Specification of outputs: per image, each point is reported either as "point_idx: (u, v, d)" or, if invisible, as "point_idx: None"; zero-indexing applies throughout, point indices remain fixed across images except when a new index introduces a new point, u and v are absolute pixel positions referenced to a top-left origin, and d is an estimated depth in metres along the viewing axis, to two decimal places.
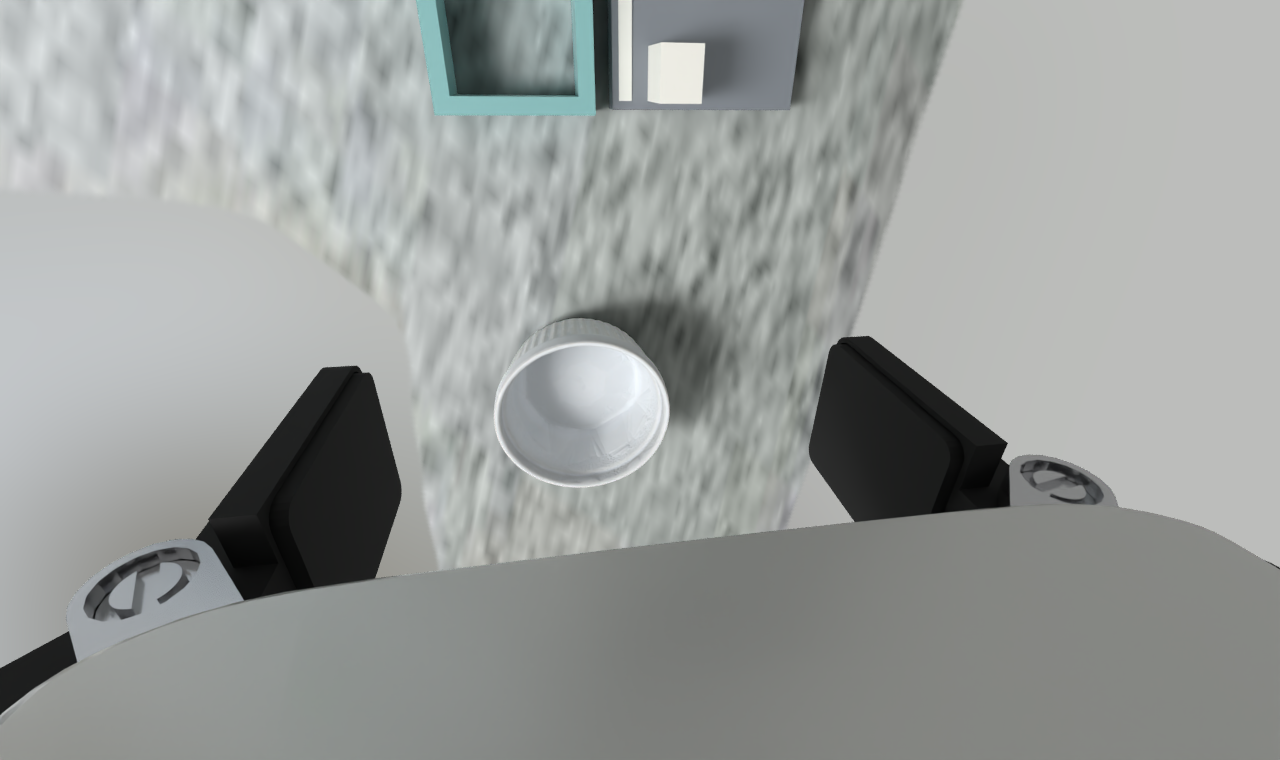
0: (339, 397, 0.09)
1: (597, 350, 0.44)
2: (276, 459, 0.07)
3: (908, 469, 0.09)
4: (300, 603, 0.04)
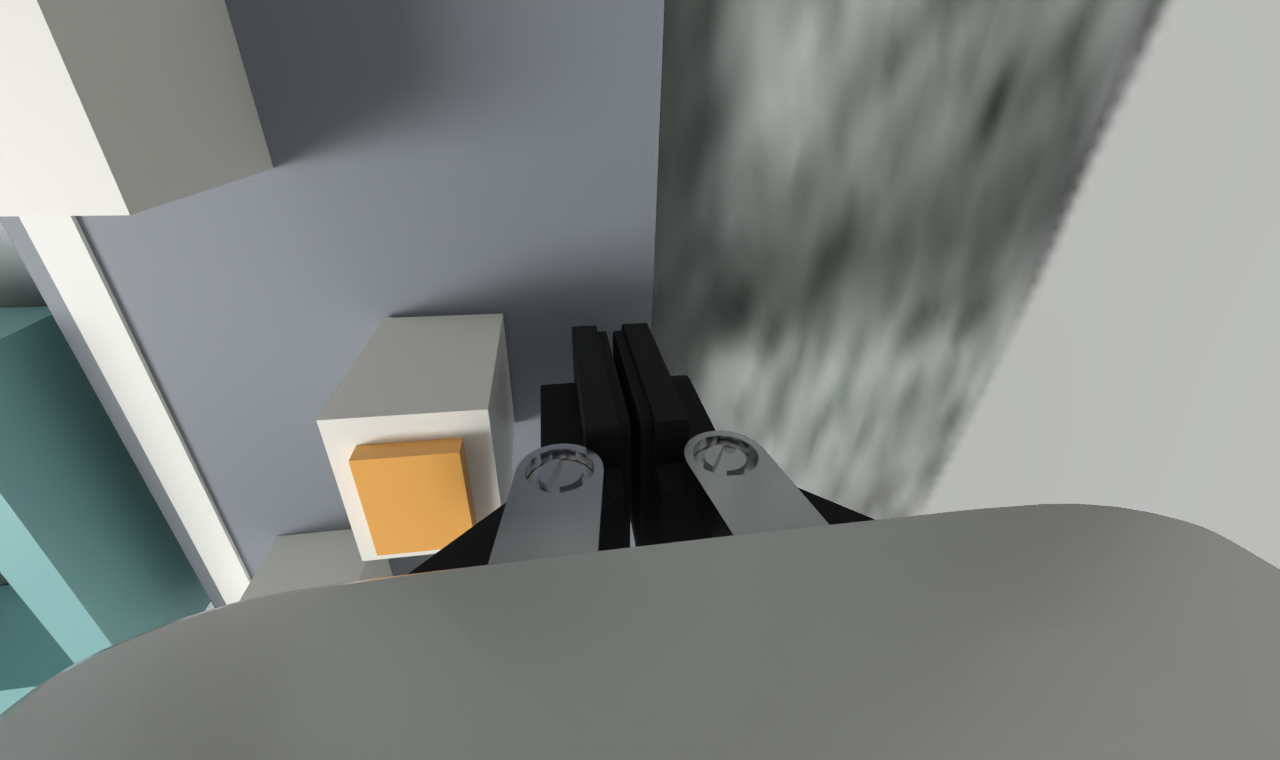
0: None
1: None
2: (598, 389, 0.09)
3: (634, 447, 0.09)
4: (300, 603, 0.04)
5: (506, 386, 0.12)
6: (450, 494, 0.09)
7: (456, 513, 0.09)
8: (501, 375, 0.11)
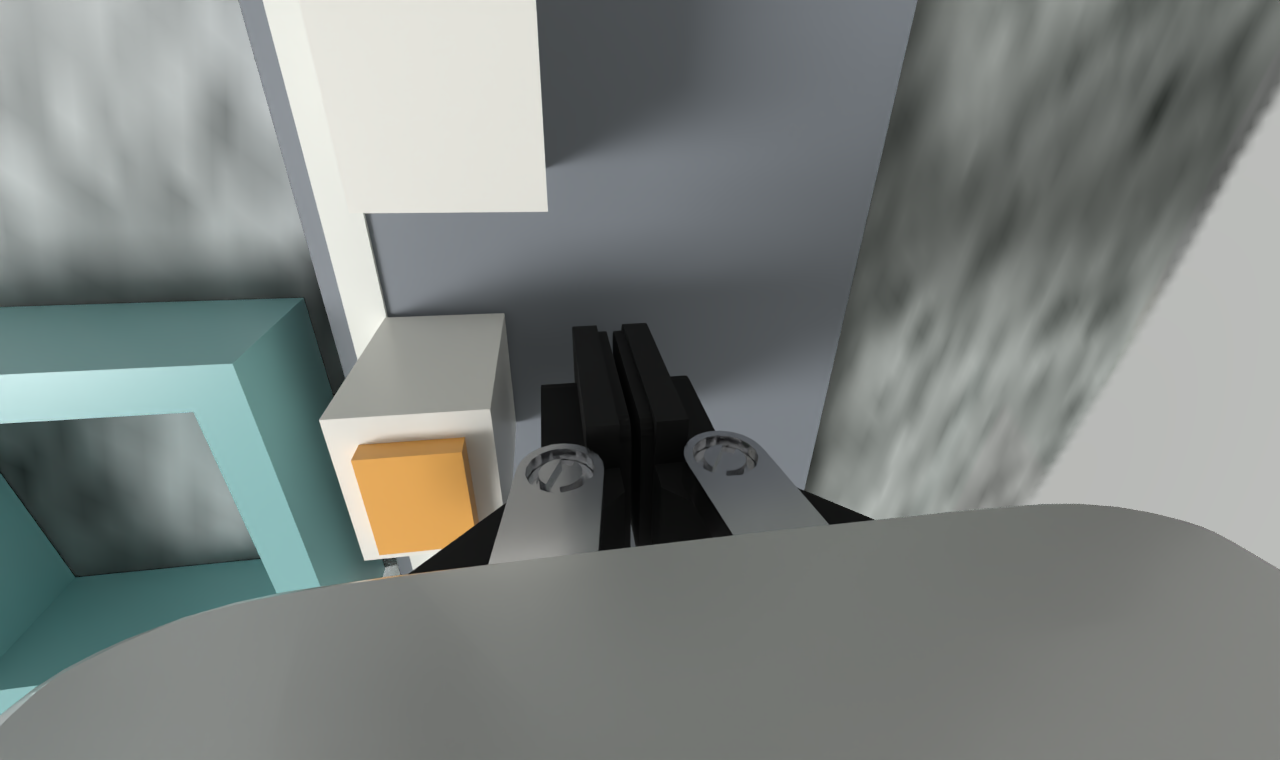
0: (601, 348, 0.10)
1: None
2: (599, 389, 0.09)
3: (633, 447, 0.09)
4: (299, 604, 0.04)
5: (507, 386, 0.12)
6: (452, 494, 0.09)
7: (458, 513, 0.09)
8: (503, 375, 0.11)
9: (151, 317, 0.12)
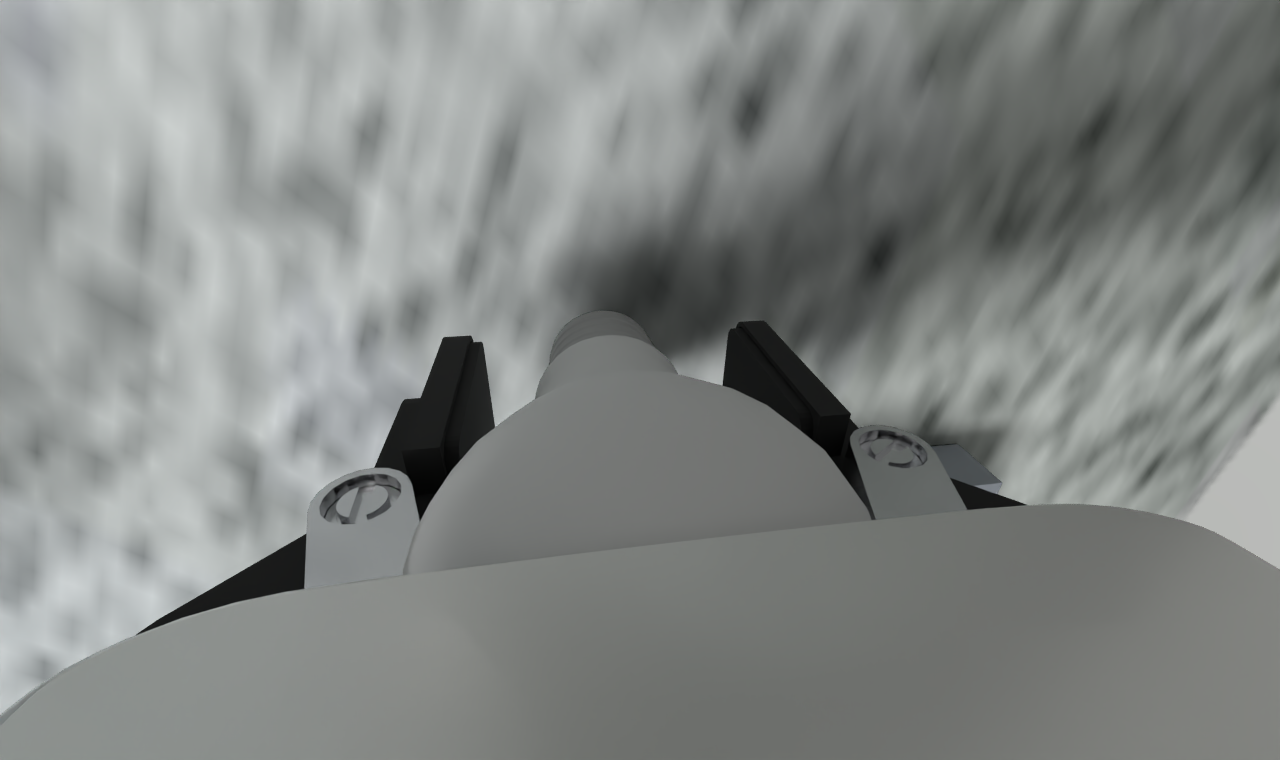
0: (466, 361, 0.10)
1: None
2: (436, 407, 0.08)
3: None
4: (300, 603, 0.04)
5: None
6: None
7: None
8: None
9: None
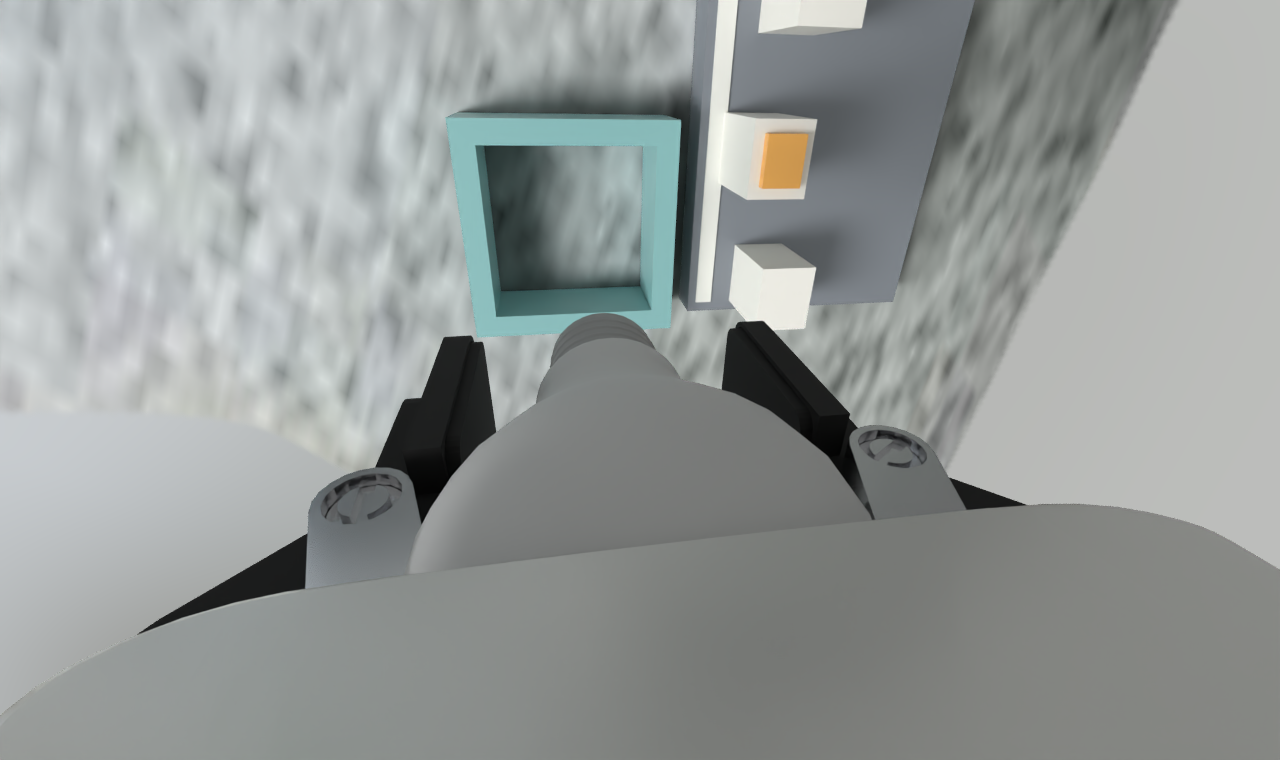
0: (466, 361, 0.10)
1: None
2: (437, 406, 0.08)
3: None
4: (300, 603, 0.04)
5: None
6: (799, 156, 0.21)
7: (798, 168, 0.21)
8: None
9: (609, 115, 0.24)
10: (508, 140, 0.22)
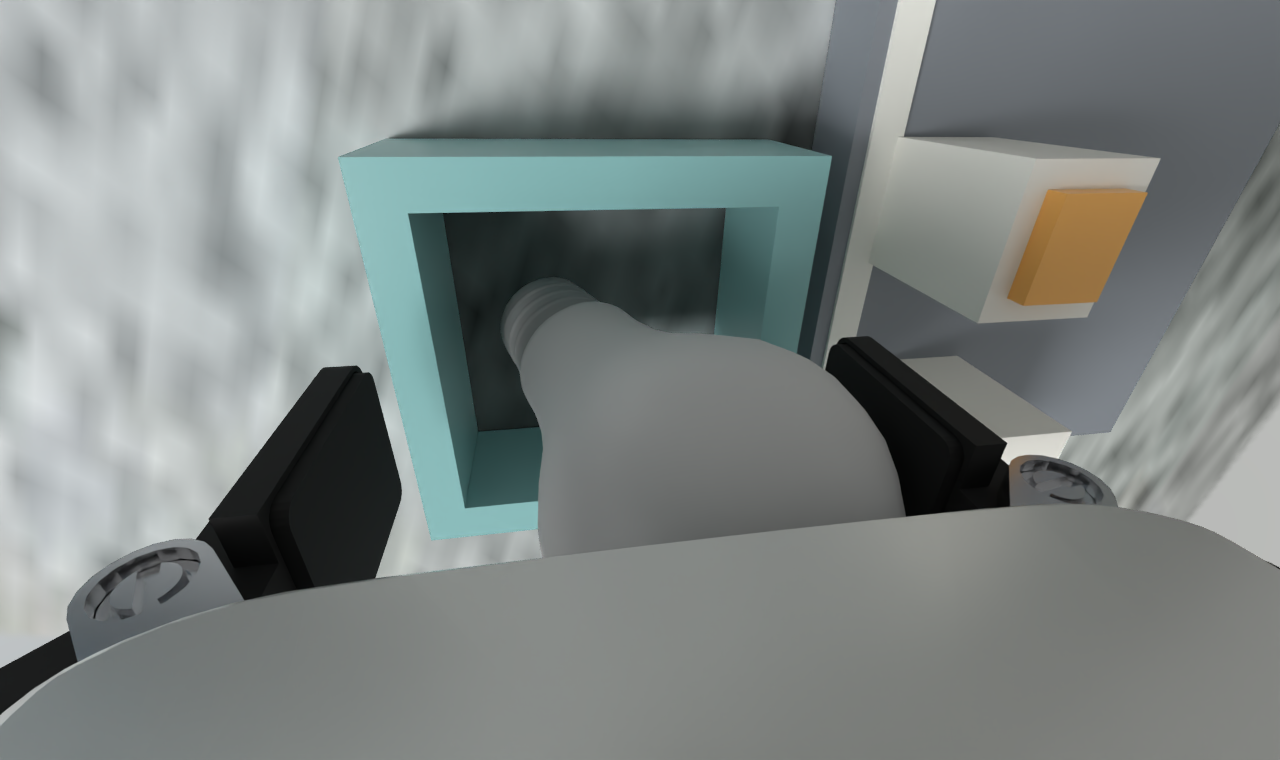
0: (339, 397, 0.09)
1: None
2: (277, 458, 0.07)
3: (908, 469, 0.09)
4: (300, 603, 0.04)
5: None
6: (1114, 240, 0.09)
7: (1105, 262, 0.10)
8: None
9: (674, 143, 0.13)
10: (478, 202, 0.10)
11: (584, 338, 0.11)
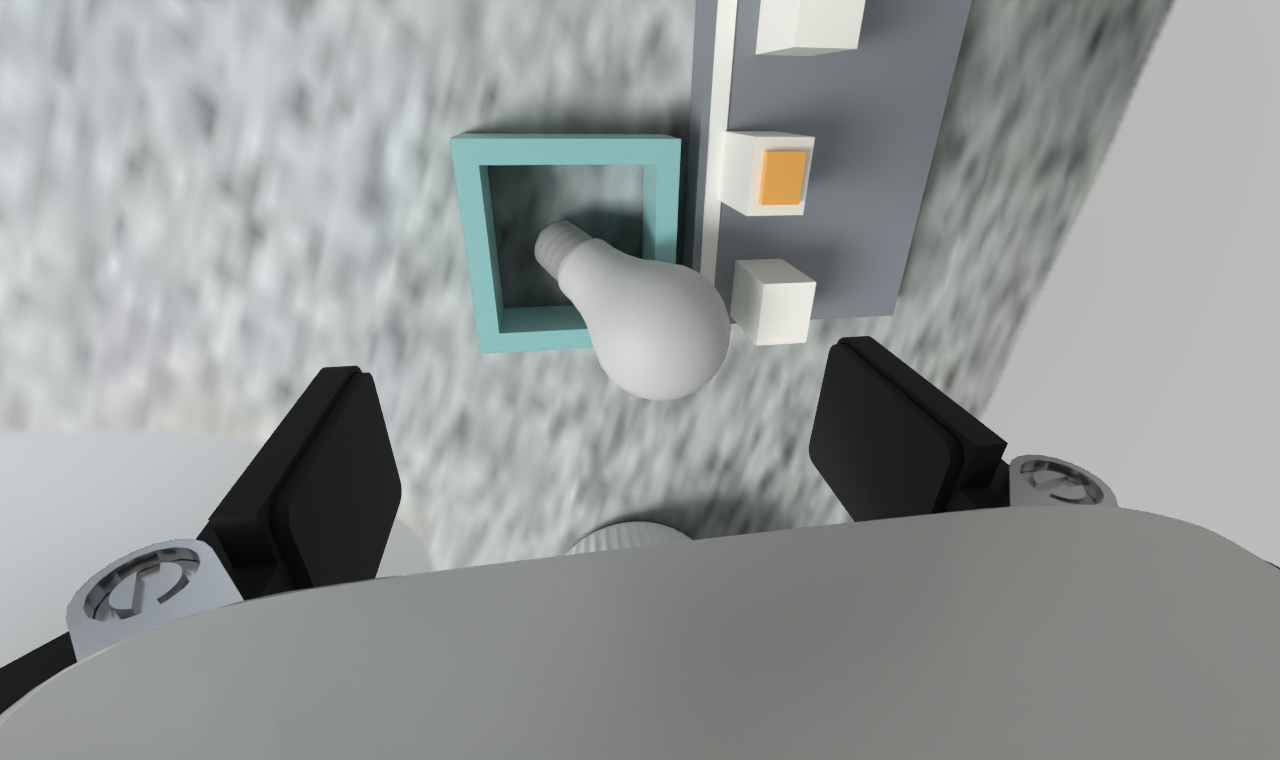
0: (339, 397, 0.09)
1: None
2: (277, 459, 0.07)
3: (908, 469, 0.09)
4: (300, 603, 0.04)
5: None
6: (797, 173, 0.21)
7: (796, 184, 0.21)
8: None
9: (610, 135, 0.24)
10: (511, 160, 0.22)
11: (598, 263, 0.23)
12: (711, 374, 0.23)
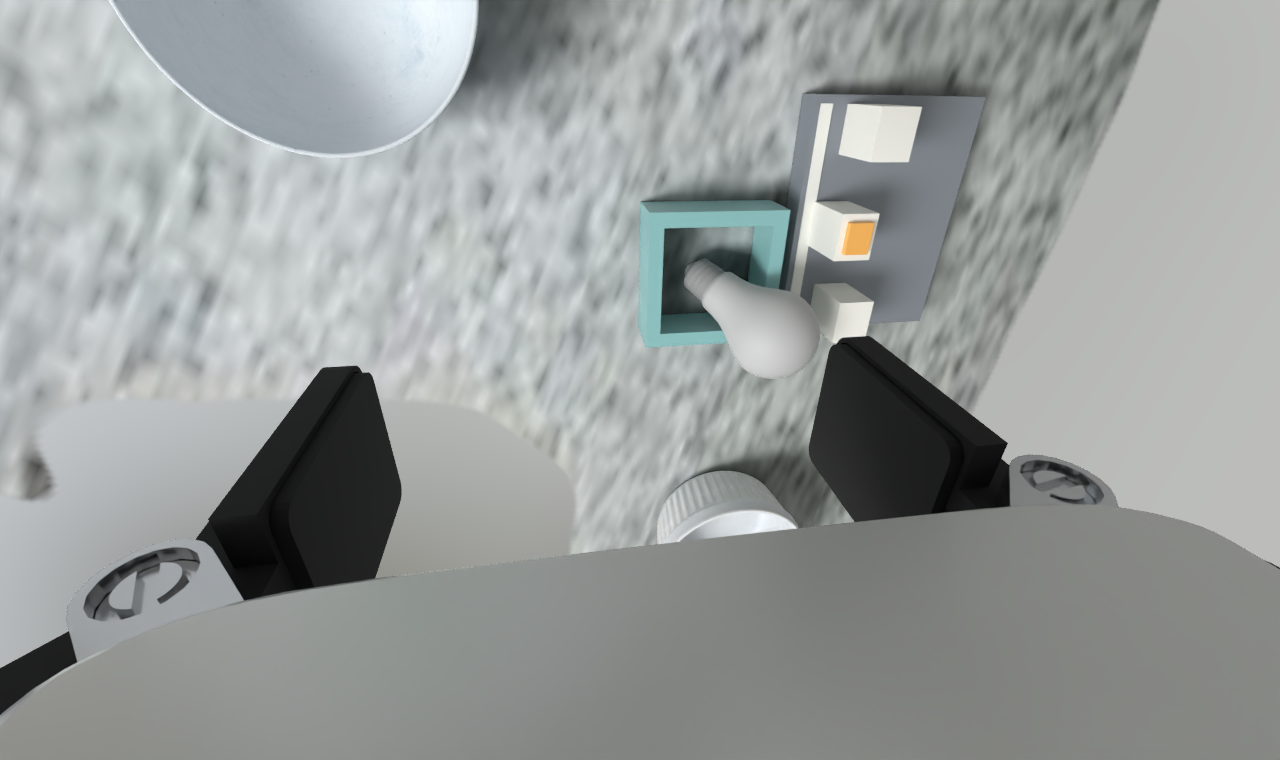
0: (339, 397, 0.09)
1: None
2: (276, 458, 0.07)
3: (908, 469, 0.09)
4: (300, 603, 0.04)
5: None
6: (868, 236, 0.34)
7: (867, 242, 0.34)
8: None
9: (738, 203, 0.37)
10: (684, 224, 0.34)
11: (734, 289, 0.36)
12: (808, 362, 0.35)
